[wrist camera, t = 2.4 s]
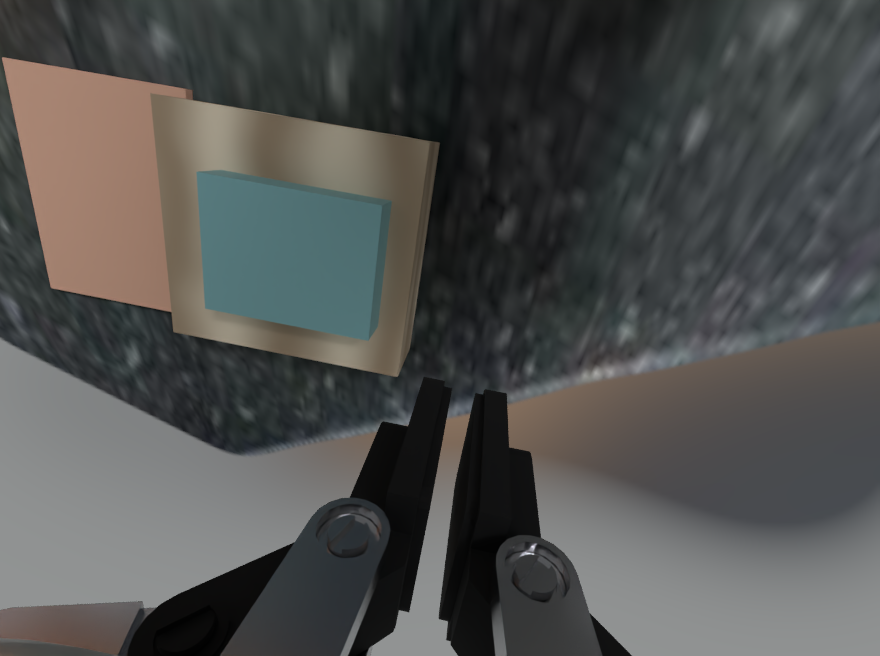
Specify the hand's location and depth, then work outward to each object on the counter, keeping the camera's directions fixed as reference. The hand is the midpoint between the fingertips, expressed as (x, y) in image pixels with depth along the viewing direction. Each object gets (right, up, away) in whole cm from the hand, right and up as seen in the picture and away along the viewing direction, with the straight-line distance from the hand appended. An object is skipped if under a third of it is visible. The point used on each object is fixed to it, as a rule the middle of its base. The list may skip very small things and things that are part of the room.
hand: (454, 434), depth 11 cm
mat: (-21, +11, +17) cm, 29 cm away
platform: (-8, +8, +16) cm, 20 cm away
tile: (-8, +7, +12) cm, 16 cm away
